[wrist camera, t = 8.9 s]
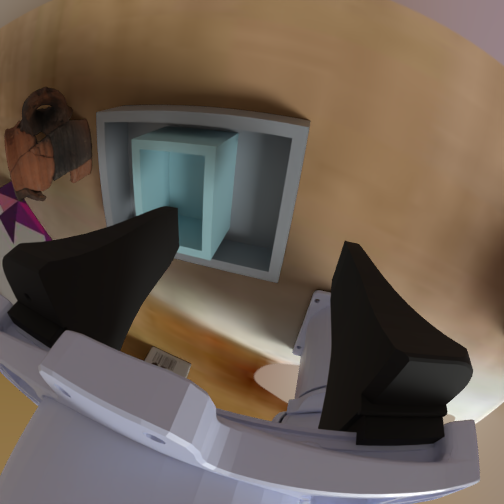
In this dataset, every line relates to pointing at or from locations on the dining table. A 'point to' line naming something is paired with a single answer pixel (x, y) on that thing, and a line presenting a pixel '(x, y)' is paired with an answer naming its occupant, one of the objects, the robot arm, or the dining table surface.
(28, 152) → the pottery mug
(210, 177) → the small crate
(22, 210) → the decorative box
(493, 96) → the dining table surface
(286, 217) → the grey shallow open box
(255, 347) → the dining table surface
